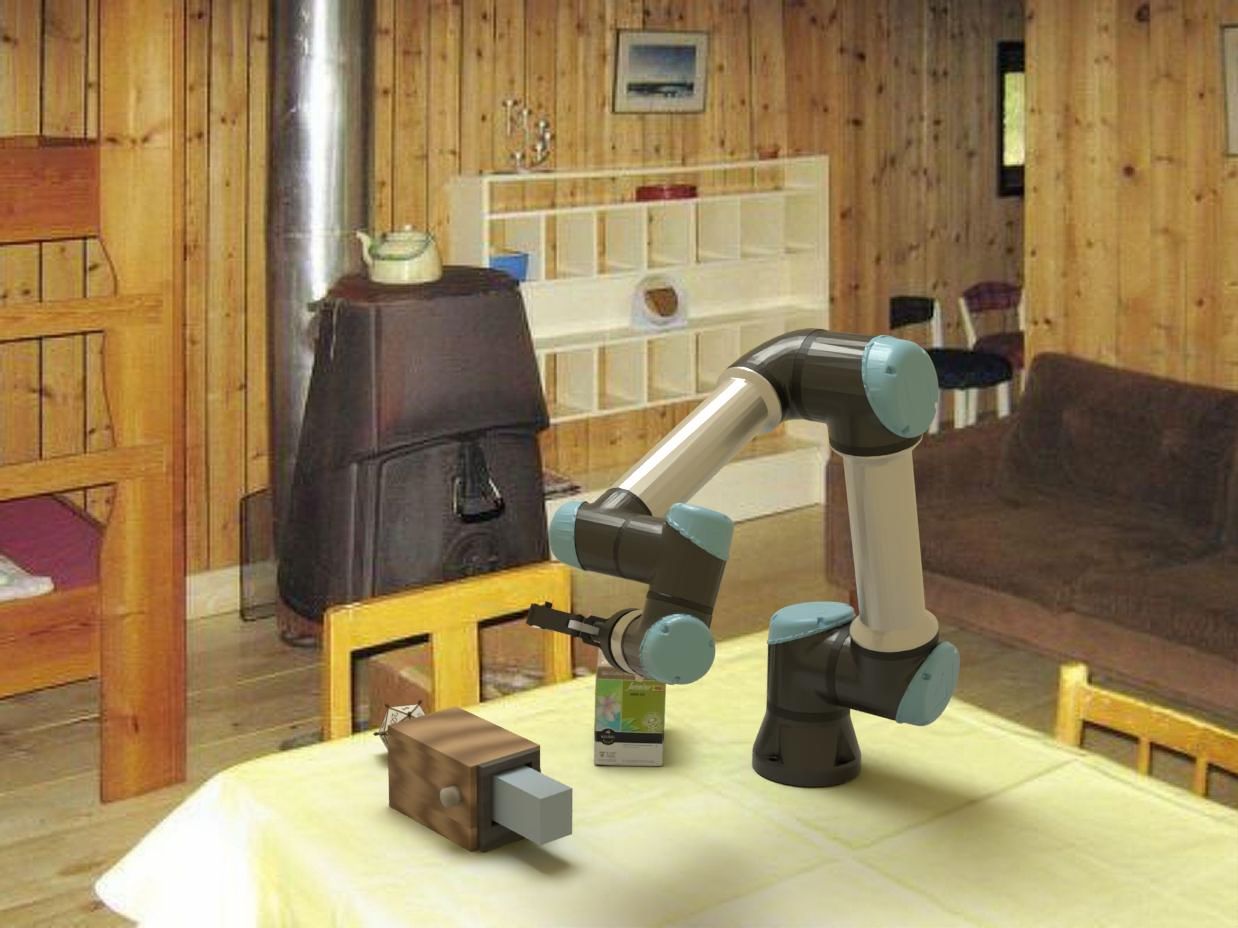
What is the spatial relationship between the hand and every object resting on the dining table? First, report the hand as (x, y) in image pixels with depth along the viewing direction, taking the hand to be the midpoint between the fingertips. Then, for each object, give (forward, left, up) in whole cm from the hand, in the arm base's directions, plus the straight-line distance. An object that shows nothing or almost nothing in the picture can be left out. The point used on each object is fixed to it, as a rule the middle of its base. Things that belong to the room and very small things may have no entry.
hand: (588, 631), depth 222 cm
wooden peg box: (+16, -1, -26) cm, 31 cm away
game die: (+27, -20, -26) cm, 43 cm away
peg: (+8, +7, -22) cm, 25 cm away
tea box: (-4, -27, -26) cm, 38 cm away
